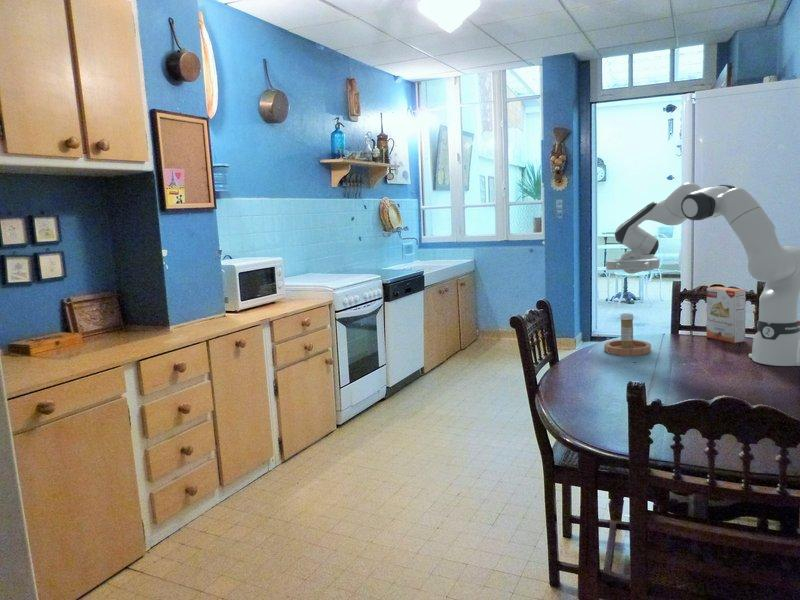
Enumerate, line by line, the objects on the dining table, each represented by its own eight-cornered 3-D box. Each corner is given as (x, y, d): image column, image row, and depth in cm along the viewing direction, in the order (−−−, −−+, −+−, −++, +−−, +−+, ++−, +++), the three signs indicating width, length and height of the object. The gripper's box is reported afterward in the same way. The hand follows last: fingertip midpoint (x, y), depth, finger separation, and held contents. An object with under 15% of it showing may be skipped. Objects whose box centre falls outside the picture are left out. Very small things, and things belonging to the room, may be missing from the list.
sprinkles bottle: (625, 346, 236) (625, 312, 234) (635, 348, 232) (635, 313, 230) (618, 348, 233) (617, 314, 232) (628, 349, 230) (628, 315, 228)
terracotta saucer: (624, 344, 244) (624, 338, 244) (660, 350, 230) (660, 344, 230) (596, 350, 236) (595, 344, 235) (631, 357, 222) (631, 351, 221)
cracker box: (705, 337, 246) (705, 287, 243) (717, 336, 248) (717, 285, 245) (733, 343, 233) (734, 290, 230) (745, 342, 234) (746, 289, 232)
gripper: (605, 256, 253) (605, 259, 240) (657, 254, 246) (660, 257, 233) (605, 271, 254) (605, 274, 241) (657, 269, 247) (660, 273, 234)
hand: (632, 266), depth 237 cm, fingers open, 8 cm apart
